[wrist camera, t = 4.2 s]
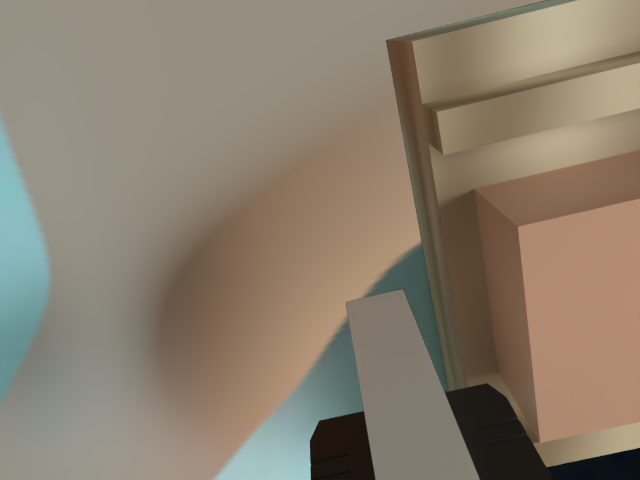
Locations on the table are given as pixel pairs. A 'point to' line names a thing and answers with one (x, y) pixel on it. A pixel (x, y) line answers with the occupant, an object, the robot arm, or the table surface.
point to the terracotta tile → (567, 293)
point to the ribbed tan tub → (509, 152)
